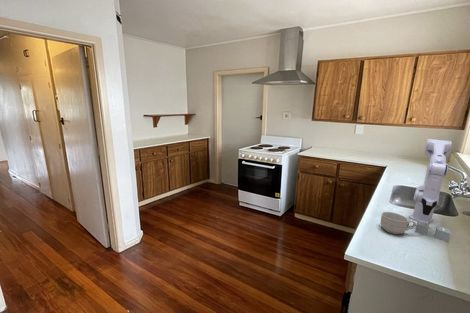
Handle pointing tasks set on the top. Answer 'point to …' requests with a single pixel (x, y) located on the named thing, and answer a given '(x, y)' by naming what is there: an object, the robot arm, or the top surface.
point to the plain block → (422, 228)
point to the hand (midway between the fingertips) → (425, 214)
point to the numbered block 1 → (442, 233)
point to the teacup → (395, 223)
